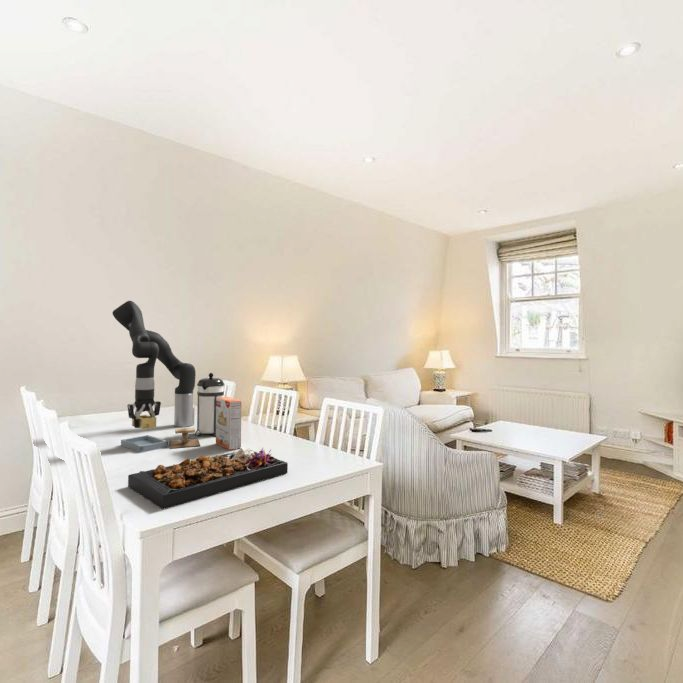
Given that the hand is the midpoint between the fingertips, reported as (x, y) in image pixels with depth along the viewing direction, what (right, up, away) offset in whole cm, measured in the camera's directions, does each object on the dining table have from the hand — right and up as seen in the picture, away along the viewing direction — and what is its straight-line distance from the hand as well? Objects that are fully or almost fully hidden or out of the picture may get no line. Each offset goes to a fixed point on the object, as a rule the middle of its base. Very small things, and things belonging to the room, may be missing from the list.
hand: (144, 426), depth 184 cm
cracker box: (+36, -9, +2) cm, 37 cm away
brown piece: (+16, -9, +5) cm, 19 cm away
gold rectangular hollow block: (0, 0, 0) cm, 0 cm away
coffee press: (+21, -9, +26) cm, 34 cm away
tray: (0, -8, 0) cm, 8 cm away
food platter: (+42, -11, -41) cm, 59 cm away
